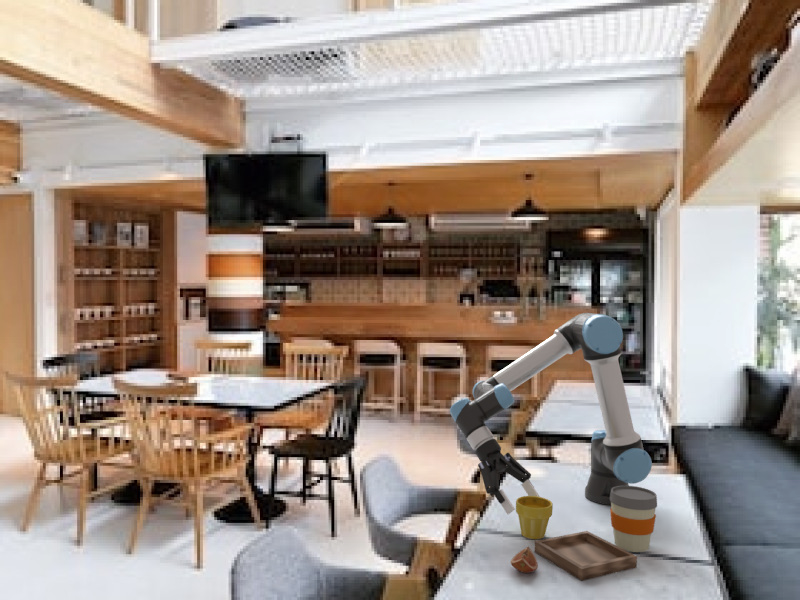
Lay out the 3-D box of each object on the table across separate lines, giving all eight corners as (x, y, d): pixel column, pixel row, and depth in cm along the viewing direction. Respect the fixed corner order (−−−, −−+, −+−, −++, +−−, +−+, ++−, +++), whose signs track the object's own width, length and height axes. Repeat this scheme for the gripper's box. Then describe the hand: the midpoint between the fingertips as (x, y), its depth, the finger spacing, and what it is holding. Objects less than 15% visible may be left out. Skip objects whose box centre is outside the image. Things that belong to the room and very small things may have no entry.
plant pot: (552, 543, 184) (553, 509, 183) (514, 540, 186) (515, 505, 185) (551, 530, 194) (552, 497, 193) (515, 526, 196) (516, 494, 195)
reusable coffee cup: (632, 558, 175) (634, 502, 175) (598, 540, 186) (600, 488, 186) (665, 550, 181) (667, 496, 181) (630, 533, 192) (632, 483, 192)
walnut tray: (586, 541, 186) (587, 530, 186) (636, 567, 169) (637, 556, 169) (534, 552, 178) (534, 541, 178) (581, 580, 161) (581, 568, 161)
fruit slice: (533, 580, 161) (534, 560, 161) (506, 575, 163) (507, 555, 163) (540, 567, 169) (540, 548, 168) (514, 562, 171) (514, 543, 171)
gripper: (500, 444, 211) (539, 503, 202) (451, 459, 193) (491, 523, 184) (515, 431, 208) (555, 490, 198) (466, 444, 190) (507, 509, 180)
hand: (524, 506), depth 191 cm, fingers open, 13 cm apart
